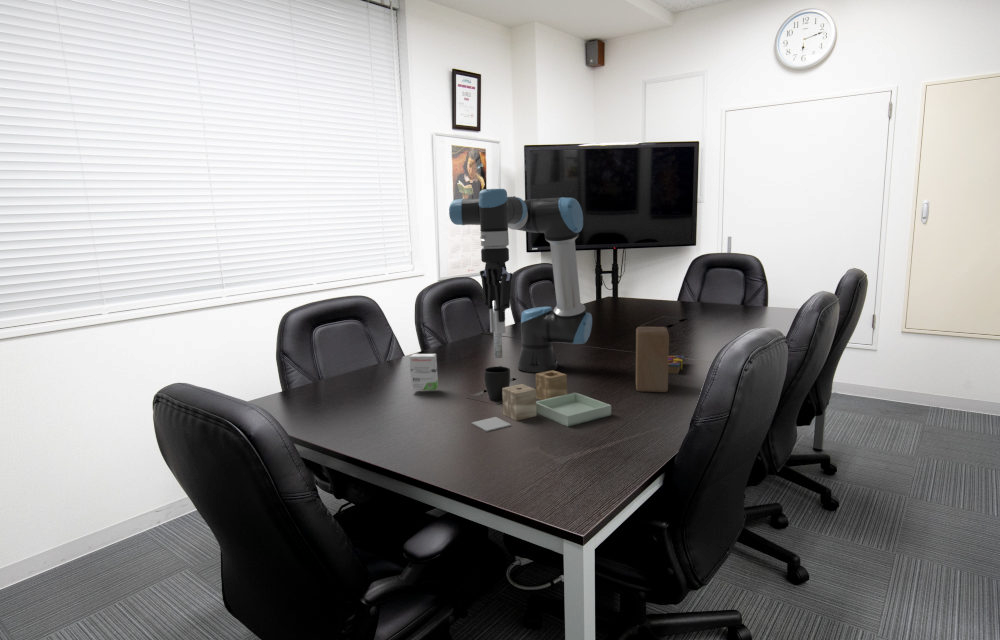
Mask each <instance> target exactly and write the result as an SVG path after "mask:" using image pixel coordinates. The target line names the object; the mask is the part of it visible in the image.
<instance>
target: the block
mask: <svg viewBox="0 0 1000 640" xmlns="http://www.w3.org/2000/svg"><path fill="white" fill-rule="evenodd" d="M669 346H670V334H669V331H668V328H667V327H665V326H638V327H636V329H635V389H636V391H637V392H647V393H648V392H649V393H652V392H653V393H666V392H668V391H669V374H668V362H669V351H670V350H669V349H670V347H669Z"/></svg>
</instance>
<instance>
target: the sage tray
mask: <svg viewBox="0 0 1000 640" xmlns="http://www.w3.org/2000/svg"><path fill="white" fill-rule="evenodd" d="M537 414H538V415H540V416H543V417H545V418H547V419H549V420H551V421H553V422H556V423H559V424H560V425H563V426H565V427H566V428H568V427H572V426H576V425H580V424H584V423H587V422H590V421H595V420H599V419H601V418H606V417H609V416H612V405H611V404H609V403H606V402H603V401H600V400H598V399H595V398H592V397H589V396H587V395H584V394H581V393H578V392H572V393H567V394H566V395H562V396H558V397H553V398H549V399H545V400H536V415H537Z"/></svg>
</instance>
